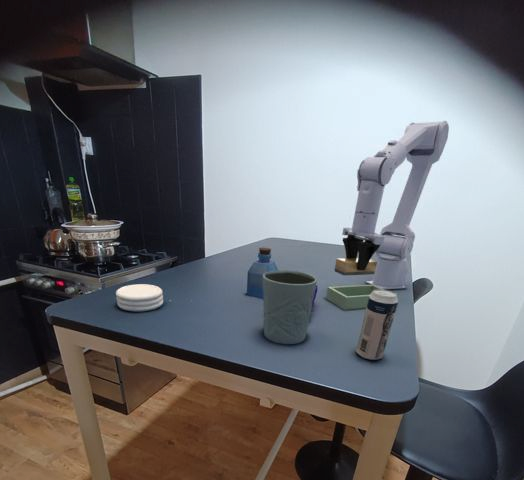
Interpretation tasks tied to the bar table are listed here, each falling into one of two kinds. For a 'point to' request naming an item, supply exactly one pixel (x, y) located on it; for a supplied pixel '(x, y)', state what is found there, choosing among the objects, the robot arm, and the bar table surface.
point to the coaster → (139, 297)
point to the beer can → (377, 324)
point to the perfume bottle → (259, 273)
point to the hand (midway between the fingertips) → (355, 267)
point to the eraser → (354, 267)
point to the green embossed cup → (287, 305)
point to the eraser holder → (350, 296)
